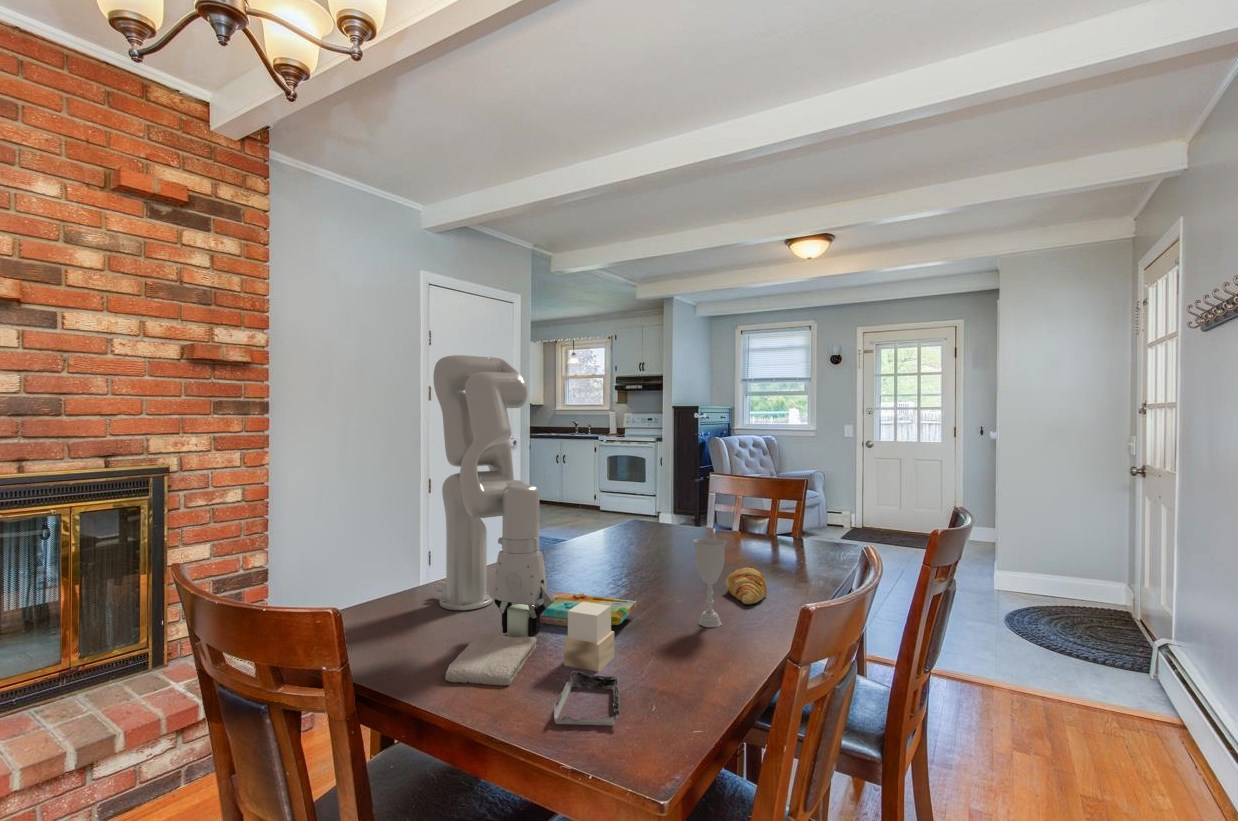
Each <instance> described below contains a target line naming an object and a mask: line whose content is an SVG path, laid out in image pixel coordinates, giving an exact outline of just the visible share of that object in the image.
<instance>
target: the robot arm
mask: <svg viewBox="0 0 1238 821" xmlns="http://www.w3.org/2000/svg"><path fill="white" fill-rule="evenodd" d="M433 387H434V392H435V395H436V398H437V401H438V403H439V406H440V409H441V413H442V423H443V435H444V436H443V437H444V448H445V449H444V451H445V456H446V459H447V462H448V463H449V464H450V465H451V466H452V467H457V468H460V470H459V472H456V473H453V474H451V475H449V476H448V477H446V479H445V480H444V481H443V483H442V487H441V493H442V494H441V495H442V500H443V505H444V512H445V527H446V528H445V530H446V531H445V532H446V533H445V534H446V535H445V536H446V537H445V539H446V544H445V547H446V548H445V549H446V550H445V555H446V557H445V561H446V564H445V565H446V566H445V571H446V572H445V574H446V575H445V577H446V578H445V580H446V581H444V580H443V581H441V580H438V582H437V583H436V585H435V586H434V591H435V592H441V593H442V596H441V597H440V599H439V606H440V607H441V608H443V609H445V610H446V609H447V610H450V611H451V610H452V611H470V610H476V609H481V608H484V607H486V606H489V605H490V604H491V603H492V602H494V604H495V605H496V606H497V608H498V611H499V612H498V613H500V614H501V627H502V634H507V608H508V607H510V606H512V605H514V604H515V605H517V604H523V605H528V607H529V611H530V614H531V617H530V618H529V619H528V636H529V637H534V638H535V637H536V636H537V635H539V633H540V631H541V623H540V615H541V614H542V613H543V612H544V611H545V610H546V609H547V608H548V607H549V606H550V605H551V604H552V603H553V602H554V598H553V597H552V595H553V594H551V593H550V591H549V590H548V589H547V582H546V581H547V578H546V576H547V575H546V568H545V561H544V556H543V552H542V551H541V550H540V490H539V488H538V487H537V485H533V484H527V483H525V482H524V481H523V480H518V479H515V477H514V475H515V474H514V467H513V466H514V465H513V457H512V456H513V455H512V454H513V453H512V446H511V442H510V438H511V436H512V428H511V424H510V420H509V415H508V409H520V408H522V407H523V406H524V405H525V404H526V402H527V400H528V399H527V398H528V387H527V384H526V381H525V380H524V377H523V376H522V374H520V372H519V371H518V370H516V368H514V367H513V366H512V365H511V364H510V363H509V362H507V361H506V360H504V359H502V358H500V357H492V356H475V355H463V354H462V355H461V354H457V355H456V354H454V355H447V356H444V357H441V358H440V359H439V360H438V361H436V363H435V365H434V368H433ZM485 466H487V467H488V470H483V471H481V470H480V471H479V470H478V467H485ZM495 517H502V531H501V532H502V534H501V535H502V537H499V538H498V539H497V543H498V544H499V545H501V549H502V550H500V551H498V554H497V559H496V563H495V564H496V565H495V570H494V572H495V573H494V583H493V587H492V588H491V589H490V590H489V591H487V588H488V587H487V584H488V583H487V580H488V578H487V574H488V573H487V572H488V571H487V570H488V566H487V564H488V561H487V559H488V557H487V556H488V555H487V554H488V553H487V552H488V551H487V548H488V546H487V544H488V539H487V538H488V537H487V536H488V535H487V534H488V533H487V531H488V530H487V527H486V524H485V522H484V521H483V520H482V519H487V518H495ZM541 600H543V601H542V602H543V603H542V602H541ZM541 603H542V604H541Z"/></svg>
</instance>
